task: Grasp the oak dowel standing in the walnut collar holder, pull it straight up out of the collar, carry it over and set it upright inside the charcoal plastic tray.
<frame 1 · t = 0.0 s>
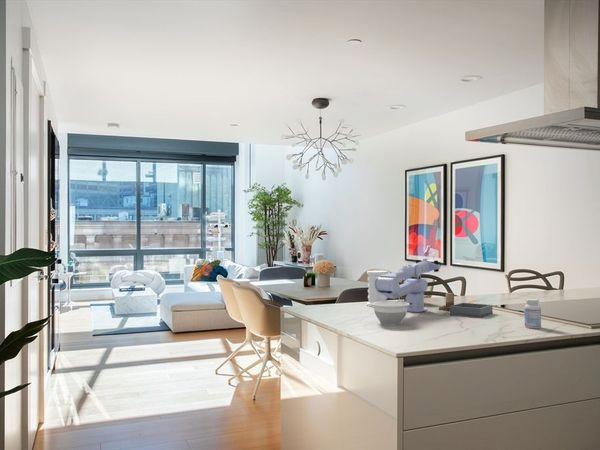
hand: (433, 264, 284), 22 cm above the table, tool horizontal, fingers open, 7 cm apart
dowel: (449, 301, 271), in the collar holder
tray: (471, 314, 256), on the table
decorative container: (377, 305, 289), on the table
coffee box: (412, 303, 298), on the table
collar holder: (450, 309, 271), on the table
bowl: (390, 323, 234), on the table
pill bottle: (532, 327, 220), on the table
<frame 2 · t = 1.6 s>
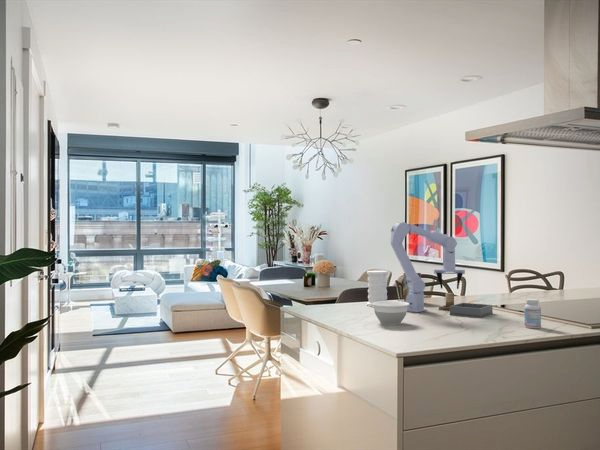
hand: (449, 288, 271), 10 cm above the table, tool pointing down, fingers open, 7 cm apart
nothing on the table moved.
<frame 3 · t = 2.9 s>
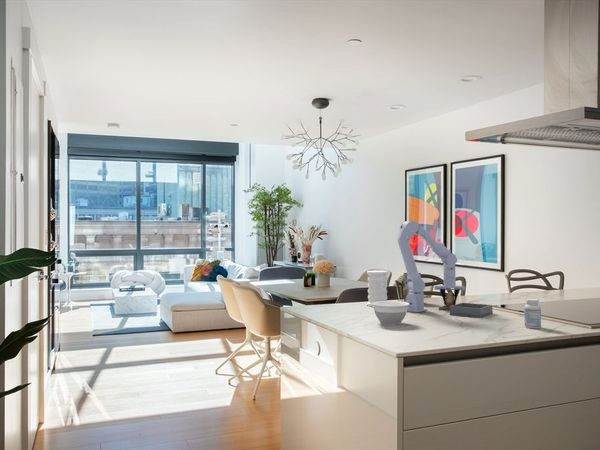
hand: (449, 304, 271), 2 cm above the table, tool pointing down, fingers closed on dowel, 4 cm apart
dowel: (449, 301, 271), in the collar holder, touching gripper
everything else where it was.
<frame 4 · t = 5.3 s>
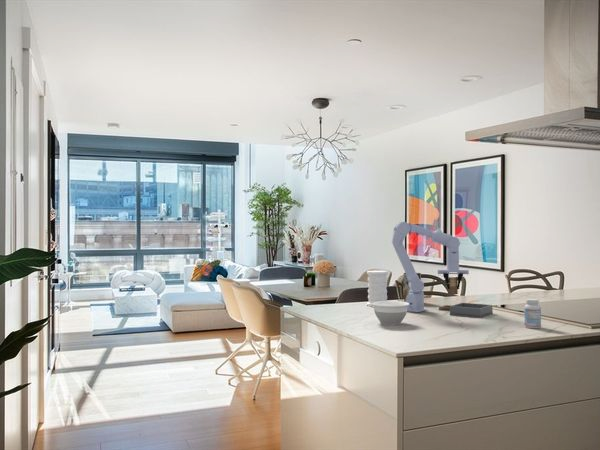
hand: (453, 289, 268), 10 cm above the table, tool pointing down, fingers closed on dowel, 4 cm apart
dowel: (453, 285, 268), point 12 cm above the table, touching gripper
everything else where it was.
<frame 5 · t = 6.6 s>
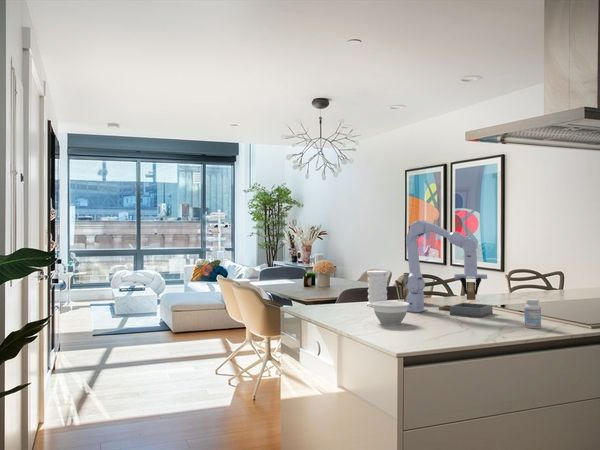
hand: (471, 294, 256), 9 cm above the table, tool pointing down, fingers closed on dowel, 4 cm apart
dowel: (470, 290, 256), point 11 cm above the table, touching gripper
everything else where it was.
when the fingers open (5 cm above the table, at t = 7.7 s): dowel drops 1 cm, resting on tray.
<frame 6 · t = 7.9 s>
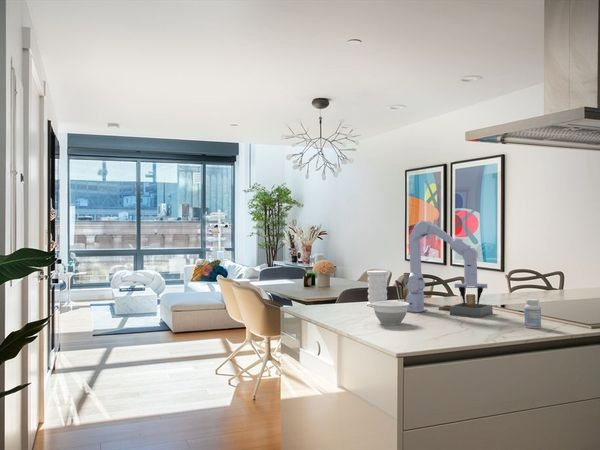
hand: (471, 303, 256), 5 cm above the table, tool pointing down, fingers open, 5 cm apart
dowel: (470, 303, 256), in the tray, point 5 cm above the table
everything else where it was.
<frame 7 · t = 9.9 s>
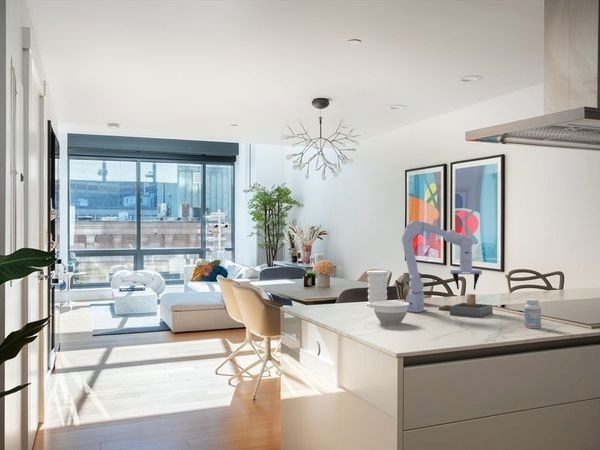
hand: (466, 289, 267), 10 cm above the table, tool pointing down, fingers open, 7 cm apart
nothing on the table moved.
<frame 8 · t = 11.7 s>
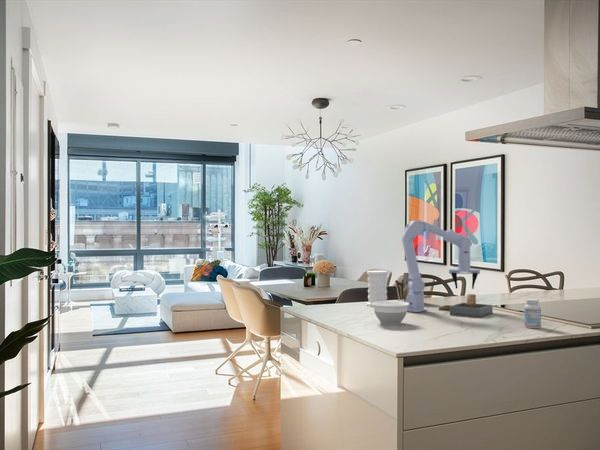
hand: (464, 288, 270), 10 cm above the table, tool pointing down, fingers open, 7 cm apart
nothing on the table moved.
at the end: dowel inside the target area on the tray (0.1 cm from its centre), point 5.0 cm above the tray's base; dowel tilted 1°; dowel touching tray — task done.
